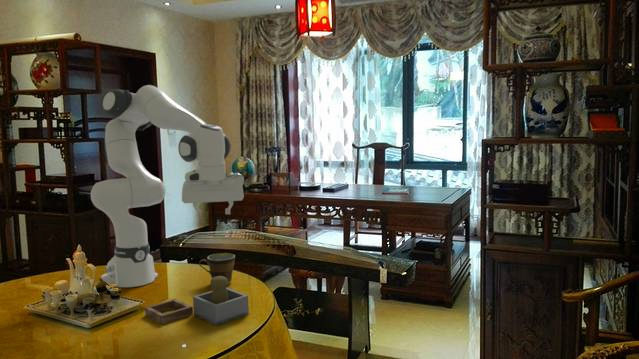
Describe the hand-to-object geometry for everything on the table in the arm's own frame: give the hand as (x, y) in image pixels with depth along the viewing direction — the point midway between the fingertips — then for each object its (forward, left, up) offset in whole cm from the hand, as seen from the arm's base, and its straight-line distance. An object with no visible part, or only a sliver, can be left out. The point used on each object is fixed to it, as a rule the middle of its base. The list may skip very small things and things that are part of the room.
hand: (213, 214), depth 172 cm
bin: (+15, -9, -28) cm, 33 cm away
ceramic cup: (-11, +8, -29) cm, 32 cm away
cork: (+14, -9, -28) cm, 32 cm away
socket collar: (+3, -20, -28) cm, 34 cm away
